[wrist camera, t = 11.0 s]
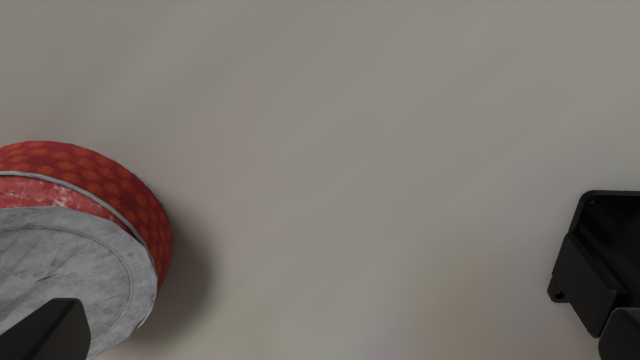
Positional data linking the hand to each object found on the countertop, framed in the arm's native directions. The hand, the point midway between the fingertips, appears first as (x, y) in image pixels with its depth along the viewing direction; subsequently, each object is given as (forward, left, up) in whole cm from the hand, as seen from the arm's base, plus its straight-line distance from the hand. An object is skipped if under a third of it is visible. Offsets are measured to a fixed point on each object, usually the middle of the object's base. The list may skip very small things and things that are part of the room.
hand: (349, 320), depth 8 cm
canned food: (+12, +8, -13) cm, 20 cm away
